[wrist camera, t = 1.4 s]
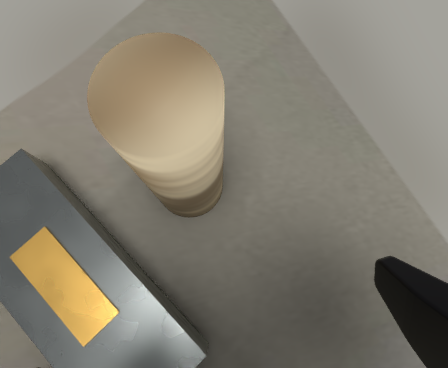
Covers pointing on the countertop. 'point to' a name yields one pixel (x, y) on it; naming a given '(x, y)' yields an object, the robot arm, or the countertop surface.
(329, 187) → the countertop surface
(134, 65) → the barrel peg
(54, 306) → the grey peg hole board
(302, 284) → the countertop surface
